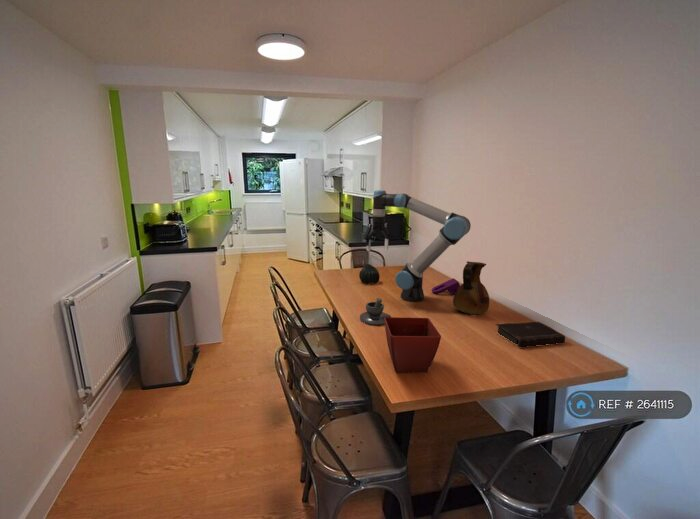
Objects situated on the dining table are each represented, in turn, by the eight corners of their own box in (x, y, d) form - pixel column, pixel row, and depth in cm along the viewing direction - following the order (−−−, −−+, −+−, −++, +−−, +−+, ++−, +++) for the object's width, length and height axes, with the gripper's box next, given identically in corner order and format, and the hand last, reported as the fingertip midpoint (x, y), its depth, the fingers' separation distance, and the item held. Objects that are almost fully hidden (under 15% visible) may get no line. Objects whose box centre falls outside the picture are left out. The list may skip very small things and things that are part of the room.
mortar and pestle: (362, 314, 188) (363, 293, 186) (378, 312, 192) (379, 292, 189) (371, 322, 178) (372, 300, 176) (387, 320, 182) (388, 298, 179)
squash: (380, 279, 244) (379, 261, 251) (359, 280, 244) (359, 261, 252) (379, 288, 256) (378, 270, 264) (359, 288, 257) (359, 270, 264)
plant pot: (426, 353, 149) (428, 317, 146) (438, 377, 131) (442, 336, 127) (382, 353, 149) (384, 316, 145) (388, 377, 130) (390, 336, 126)
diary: (564, 345, 161) (566, 335, 160) (519, 350, 156) (520, 340, 154) (535, 328, 179) (536, 319, 178) (493, 332, 173) (494, 323, 172)
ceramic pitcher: (493, 312, 201) (499, 262, 194) (479, 321, 186) (485, 268, 180) (461, 303, 214) (466, 256, 207) (446, 311, 199) (450, 261, 193)
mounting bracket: (438, 303, 231) (462, 292, 230) (433, 293, 229) (458, 282, 228) (434, 299, 240) (457, 288, 239) (429, 288, 238) (453, 278, 237)
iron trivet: (379, 311, 197) (379, 309, 197) (397, 322, 183) (397, 319, 182) (353, 316, 189) (354, 314, 188) (371, 328, 174) (371, 325, 174)
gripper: (391, 214, 218) (390, 247, 223) (358, 215, 206) (357, 250, 210) (398, 215, 212) (397, 249, 216) (364, 217, 199) (363, 252, 204)
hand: (377, 250), depth 213 cm, fingers open, 13 cm apart
